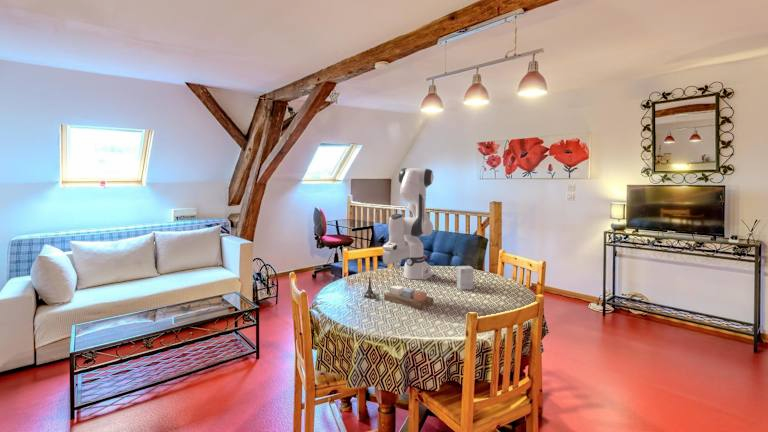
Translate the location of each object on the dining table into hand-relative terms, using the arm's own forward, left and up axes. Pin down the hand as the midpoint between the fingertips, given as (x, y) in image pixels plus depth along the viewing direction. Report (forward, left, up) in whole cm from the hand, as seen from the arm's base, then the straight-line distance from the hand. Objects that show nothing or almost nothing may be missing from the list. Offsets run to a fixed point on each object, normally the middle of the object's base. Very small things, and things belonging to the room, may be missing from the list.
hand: (397, 268), depth 221 cm
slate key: (+2, +9, -15) cm, 18 cm away
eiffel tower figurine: (+10, -11, -17) cm, 23 cm away
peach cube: (+2, +17, -15) cm, 23 cm away
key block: (+2, +9, -16) cm, 19 cm away
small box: (-39, +21, -17) cm, 47 cm away
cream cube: (+2, +2, -15) cm, 15 cm away
